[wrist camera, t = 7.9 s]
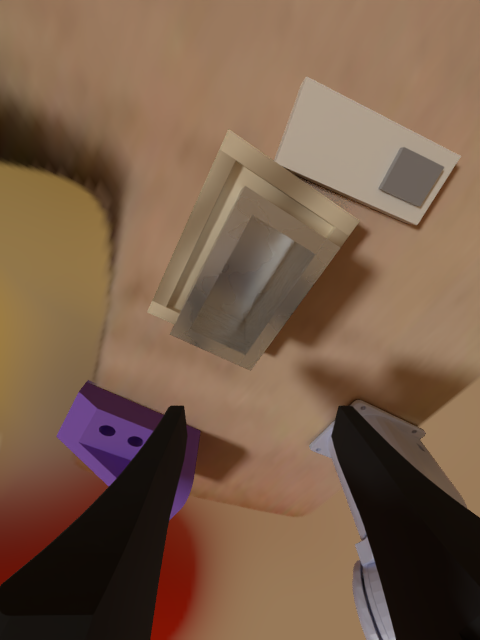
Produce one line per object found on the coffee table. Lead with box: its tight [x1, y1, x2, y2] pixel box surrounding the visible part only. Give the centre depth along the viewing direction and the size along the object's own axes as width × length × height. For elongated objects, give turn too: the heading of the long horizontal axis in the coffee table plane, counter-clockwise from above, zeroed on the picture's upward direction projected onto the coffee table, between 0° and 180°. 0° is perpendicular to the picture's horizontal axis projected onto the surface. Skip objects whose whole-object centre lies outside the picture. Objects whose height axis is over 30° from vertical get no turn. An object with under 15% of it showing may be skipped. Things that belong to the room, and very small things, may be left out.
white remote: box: [274, 76, 461, 225], centre depth 15 cm, size 4×10×2 cm, turn 70°
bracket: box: [57, 380, 200, 520], centre depth 23 cm, size 12×7×7 cm, turn 56°
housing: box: [170, 186, 340, 371], centre depth 15 cm, size 5×8×5 cm, turn 150°
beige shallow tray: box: [148, 129, 360, 324], centre depth 17 cm, size 9×12×2 cm
